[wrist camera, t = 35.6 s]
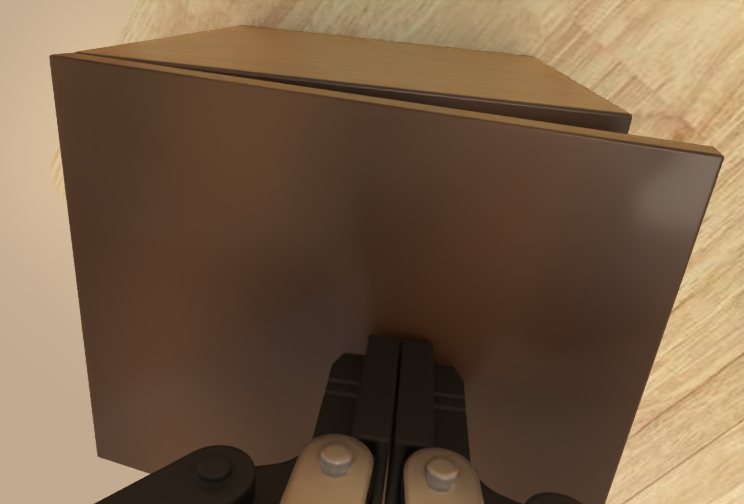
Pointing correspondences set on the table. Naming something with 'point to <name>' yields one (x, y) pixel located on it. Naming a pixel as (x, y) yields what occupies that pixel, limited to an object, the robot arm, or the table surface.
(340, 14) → the table surface
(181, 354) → the lid
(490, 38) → the table surface
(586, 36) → the table surface
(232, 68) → the chest
